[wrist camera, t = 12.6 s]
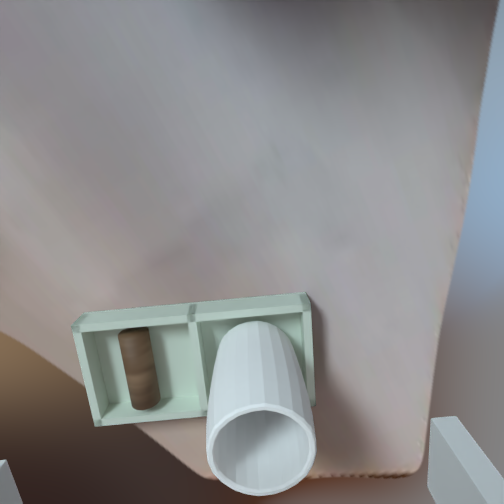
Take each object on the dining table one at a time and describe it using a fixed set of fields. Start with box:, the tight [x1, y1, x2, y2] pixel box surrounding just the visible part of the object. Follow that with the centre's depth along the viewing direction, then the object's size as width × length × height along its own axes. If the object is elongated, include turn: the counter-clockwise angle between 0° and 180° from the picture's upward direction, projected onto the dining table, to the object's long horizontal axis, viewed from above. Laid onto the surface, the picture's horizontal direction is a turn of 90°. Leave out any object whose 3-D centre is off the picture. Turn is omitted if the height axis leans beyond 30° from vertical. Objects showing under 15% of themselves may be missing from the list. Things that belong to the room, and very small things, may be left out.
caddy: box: [71, 292, 316, 426], centre depth 39 cm, size 12×23×3 cm, turn 95°
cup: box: [206, 321, 317, 496], centre depth 33 cm, size 8×8×14 cm
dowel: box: [118, 326, 161, 410], centre depth 38 cm, size 8×3×3 cm, turn 5°
